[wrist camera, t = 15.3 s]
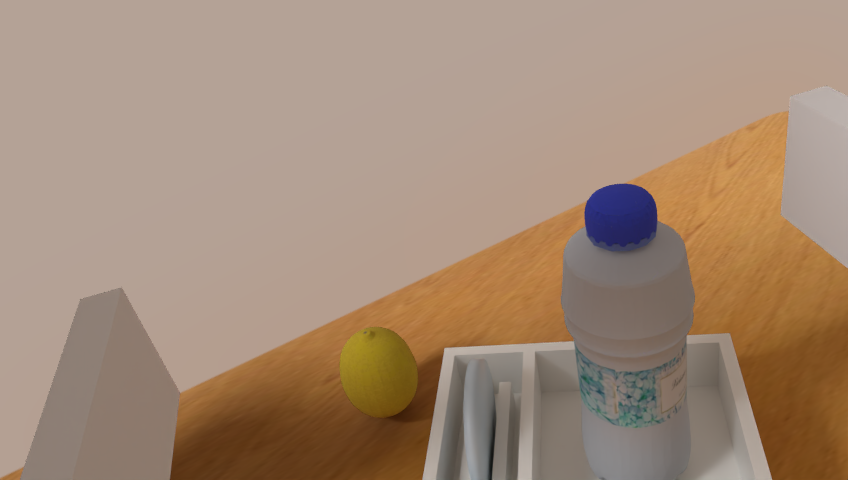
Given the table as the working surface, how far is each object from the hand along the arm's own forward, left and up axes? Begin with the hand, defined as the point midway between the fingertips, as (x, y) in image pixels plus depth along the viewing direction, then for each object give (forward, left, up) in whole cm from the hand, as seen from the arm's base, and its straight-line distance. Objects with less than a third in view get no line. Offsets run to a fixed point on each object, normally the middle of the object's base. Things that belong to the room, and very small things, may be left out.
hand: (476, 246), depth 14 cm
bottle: (+4, +19, -31) cm, 36 cm away
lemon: (-14, +25, -32) cm, 43 cm away
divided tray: (+1, +19, -32) cm, 37 cm away
